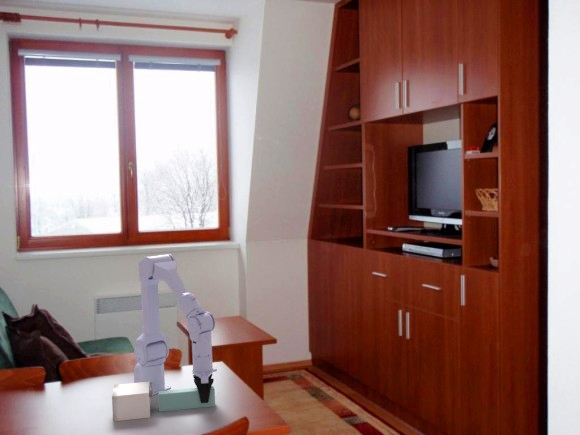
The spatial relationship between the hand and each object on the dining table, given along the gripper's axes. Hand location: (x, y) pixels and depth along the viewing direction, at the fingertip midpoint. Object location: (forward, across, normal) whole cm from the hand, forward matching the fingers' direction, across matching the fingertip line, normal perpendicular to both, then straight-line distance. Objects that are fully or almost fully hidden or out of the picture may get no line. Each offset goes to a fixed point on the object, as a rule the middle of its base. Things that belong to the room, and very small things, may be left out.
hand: (204, 400), depth 186 cm
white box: (+1, 0, +20) cm, 21 cm away
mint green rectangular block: (+1, 0, +5) cm, 5 cm away
